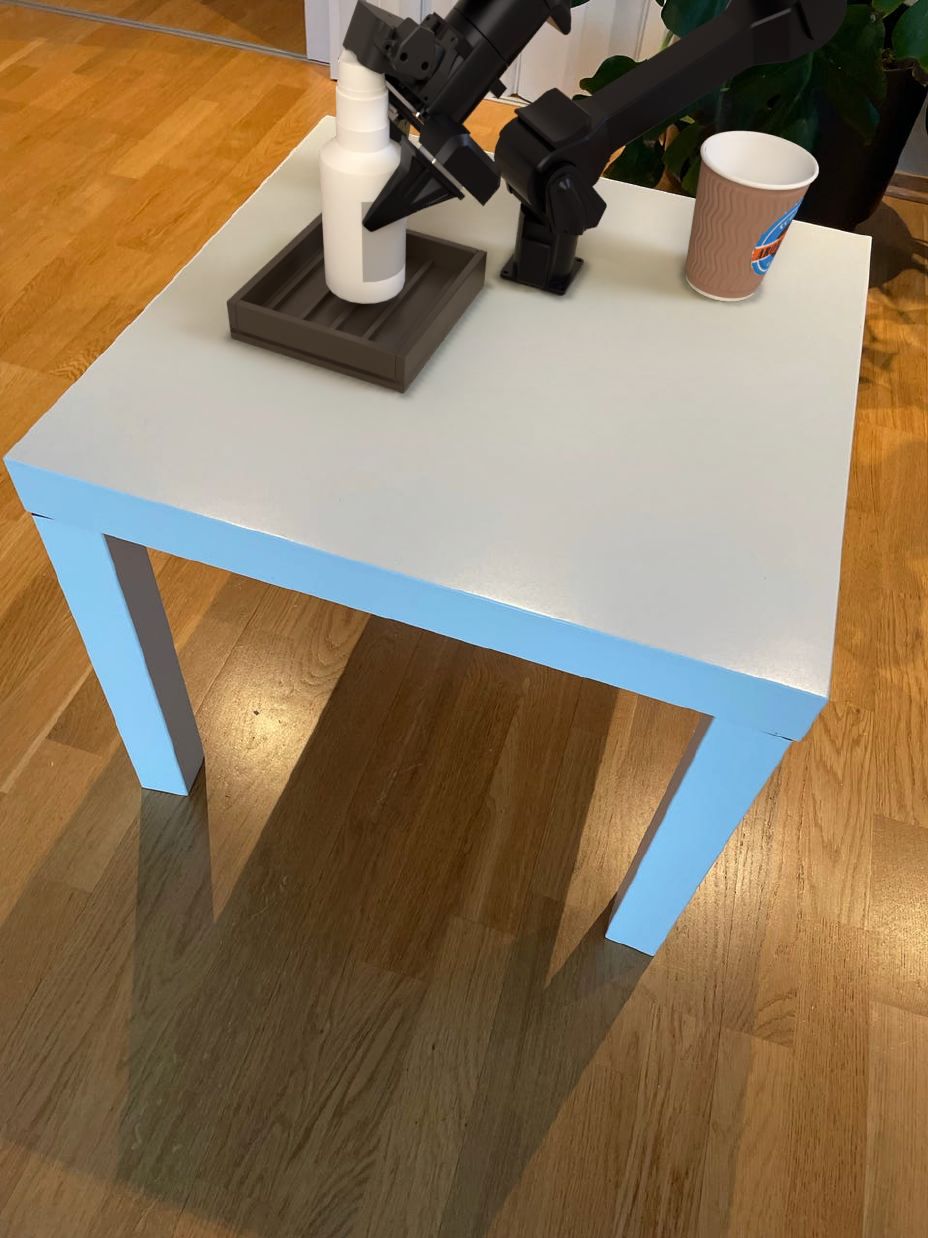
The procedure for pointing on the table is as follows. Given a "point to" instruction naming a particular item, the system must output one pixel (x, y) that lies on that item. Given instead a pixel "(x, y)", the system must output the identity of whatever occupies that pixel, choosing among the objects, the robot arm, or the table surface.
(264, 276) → the ribbed square tray
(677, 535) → the table surface
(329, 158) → the spray bottle
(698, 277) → the coffee cup
